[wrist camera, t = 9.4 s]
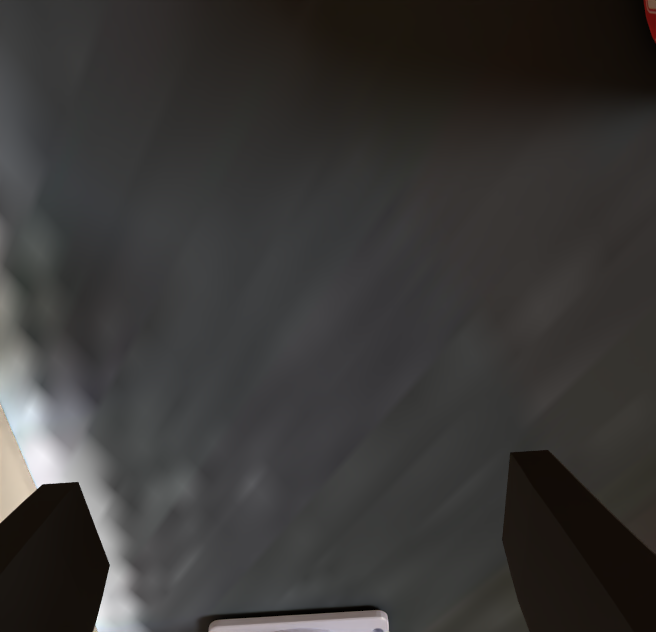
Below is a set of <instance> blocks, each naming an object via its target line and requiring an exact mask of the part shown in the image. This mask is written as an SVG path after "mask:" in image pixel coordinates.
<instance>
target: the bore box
mask: <svg viewBox="0 0 656 632" xmlns="http://www.w3.org/2000/svg"><path fill="white" fill-rule="evenodd" d="M36 490H37V488H36V486H35V484H34V481H33V479H32V477H31V474H30V472H29V470H28V467H27V465H26V463H25V460H24V458H23V456H22V453H21V451H20V449H19V446H18V444H17V442H16V439H15V437H14V435H13V432H12V430H11V428H10V425H9V423H8V421H7V418H6V416H5V414H4V411H3V409H2V407H1V404H0V523H1V522H2V521H3V520H4V519H5V518H6V517H7V516H8V515H9V514H11V513H12V512H13V511H14V510H15V509H16V508H17V507H18V506H19V505H20V504H21V503H22V502H23V501H25V500H26V499H27V498H28V497H29V496H30V495H31V494H32V493H33V492H35V491H36ZM93 632H98V631H97V628H96V626H95V627H94V630H93Z"/></svg>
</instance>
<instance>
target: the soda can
mask: <svg viewBox="0 0 656 632" xmlns="http://www.w3.org/2000/svg"><path fill="white" fill-rule="evenodd" d="M644 7H645V14H646V19H647V22H648V25H649V28H650V31H651V35H652V37H653V39H654V41H655V43H656V0H644Z"/></svg>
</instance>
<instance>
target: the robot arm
mask: <svg viewBox="0 0 656 632" xmlns="http://www.w3.org/2000/svg"><path fill="white" fill-rule="evenodd" d="M502 541H503V545H504V549H505V553H506V557H507V561H508V565H509V569H510V572H511V576H512V580H513V584H514V587H515V591H516V595H517V598H518V602H519V604H520V607H521V610H522V613H523V615H524V618H525V621H526V623H527V626H528V628H529V631H530V632H656V554H655V553H654V552H653V551H652V550H650V549H649V548H648V547H647V546H646V545H645V544H644V543H643V542H642V541H641V540H640V539H639V538H637V537H636V536H635V535H634V534H633V533H632V532H631V531H630V530H629V529H628V528H627V527H626V526H625V525H624V524H623V523H622V522H620V521H619V520H618V519H617V518H616V517H615V516H614V515H613V514H612V513H611V512H610V511H609V510H608V509H607V508H606V507H605V506H604V505H603V504H602V503H601V502H600V501H599V500H598V499H597V498H596V497H595V496H594V495H593V494H592V493H591V492H590V491H589V490H588V489H587V488H586V487H585V486H584V485H583V484H582V483H581V482H580V481H579V480H578V479H577V478H576V477H575V476H574V475H573V474H572V473H571V472H570V471H569V470H568V469H567V468H566V467H565V466H564V465H563V464H562V463H561V462H560V461H559V460H558V459H557V458H556V457H555V456H554V455H553V454H552V453H551V452H549V451H548V450H541V451H526V452H512V453H510V462H509V472H508V483H507V494H506V504H505V515H504V526H503V537H502ZM109 566H110V564H109V562H108V559H107V557H106V554H105V551H104V549H103V546H102V543H101V541H100V538H99V535H98V533H97V530H96V528H95V525H94V522H93V520H92V517H91V514H90V512H89V509H88V506H87V504H86V501H85V499H84V496H83V493H82V491H81V488H80V485H79V483H78V482H71V483H57V484H43V485H41V486H40V487H39V488H38V489H37V490H36V491H35V492H33V493H32V494H31V495H30V496H29V497H28V498H27V499H26V500H25V501H23V502H22V503H21V504H20V505H19V506H18V507H17V508H16V509H15V510H14V511H13V512H12V513H11V514H9V515H8V516H7V517H6V518H5V519H4V520H3V521H2V522H1V523H0V632H93V630H94V627H95V623H96V620H97V616H98V612H99V608H100V604H101V600H102V596H103V592H104V588H105V583H106V579H107V575H108V570H109ZM208 632H389V623H388V616H387V614H386V613H385V612H383V611H381V610H368V611H352V612H336V613H319V614H303V615H287V616H271V617H254V618H238V619H222V620H215V621H213V622H211V624H210V625H209V631H208Z"/></svg>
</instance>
